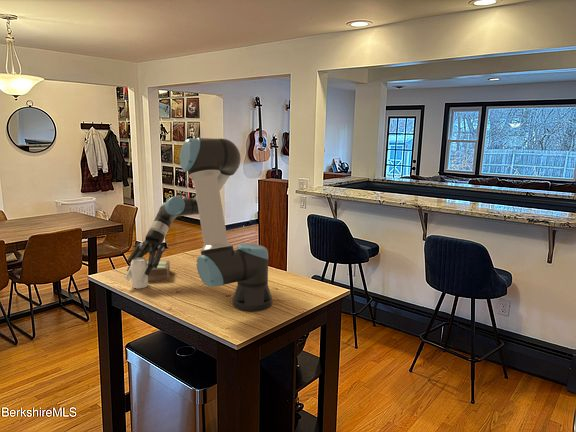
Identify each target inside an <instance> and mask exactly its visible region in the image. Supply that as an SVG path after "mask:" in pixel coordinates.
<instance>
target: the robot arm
mask: <svg viewBox="0 0 576 432" xmlns="http://www.w3.org/2000/svg"><path fill="white" fill-rule="evenodd" d="M180 148H181V149H180V153H179V164H180V165H179V166H180V168H181V170H182V171H185V172H187V174H188V178H190V179H191V180H192V181H193V185H194V189H195V196H194V197H191V198H189V197H187V198H182V197H180V196H171V197H170V198H169V199H167V201H165V202H163V203H162V204H161V206H160V207H159V209H158V212H157V214H156V216H155V217H154V220H153V221H152V222H151V223H152V224H151V225H150V227H149V230H148V231H147V233H146V235H145V239H144V241H143V242H141V243H140V242H139V241H138V242H136V244H135V247H134V248H133V250H132V252H131V254H130V255H129V257H128V259H127V260H126V262H127V263H128V264H129V265H128V267H127V269H126V274H125V276H124V278H125V280H127V281H128V282H129V281H131V279H132V277H131V262H132V259H133V258H138V257H143V258H144V256H145V255H147V254H148V255H149V256H148V260H147V261H148V265H147V266H145V268H144V270H143V272H142V274H141V276H140V278H139V280H140V281H141V282H142V283H144V281H145V279H146V277H147V275H149V274H150V271H151V269H153V268H157V266H158V264H159V261H161V258H162V255H163V254H164V252H165V250H166V248H165V247H164V245H163V242H164V240H165V237H166V236H167V233H168V231H169V230H170V227H171V226H172V223H173V221H174V220H176V218H178V217H183V216H193V215H195V216H196V215H198V216H199V222H200V228H201V233H202V240H203V246H202V248H201V249H200V255H199V256H198V257H197V258H196V270H197V273H198V276H199V278H200V280H201V282H202V283H203V284H204V285H205V286H207V287H209V288H212V287H221V286H224V285H229V284H234V283H236V288H235V291H234V294H233V297H232V306H233V307H234V308H236V310H237V309H238V310H241V311H243V312H244V311H245V312H258V311H264V310H267V309H269V308H270V307H272V305H273V296H272V294H271V290H270V286H269V281H268V280H269V250H268V249H267V247H265V246H264V245H260V244H255V243H239V244H238V245H237V247H236V249H235V250H234V245H233V244H232V243H231V242H229V241H228V234H227V229H226V228H227V227H226V223H225V217H224V215H225V214H224V211H223V210H224V209H223V205H222V198H221V192H220V191H221V189H222V188H223V187H224V186H225V184H226V182H227V181H228V179H229V178H230V176H233V175H234V174H236V172H237V171H238V169H239V167H240V164H241V160H242V159H241V153H240V150H239V147H238V146H237V145H236V144H235V143H234V142H232V141H231V140H229V139H226V138H210V137H209V138H206V137H205V138H204V137H203V138H202V137H195V138H187V139H186V140H185V141H184V142H183V143H182V145H181V147H180Z"/></svg>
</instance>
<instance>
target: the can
mask: <svg viewBox="0 0 576 432" xmlns="http://www.w3.org/2000/svg"><path fill="white" fill-rule="evenodd" d="M147 261H148V260H147V258H146V257H144V256H143V257H138V258H133V259H132V262H131V287H132V288H133V289H135V288H136V290H142V289H146V288H147V287H148V286H149V281H148V275H147V277H146V279H145V281H144V283H142V282H141V281H140V280H139V278H140V276H141V274H142V272H143V270H144V268H145V266H147ZM145 287H146V288H145ZM141 288H142V289H141Z"/></svg>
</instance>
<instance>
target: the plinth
mask: <svg viewBox="0 0 576 432" xmlns="http://www.w3.org/2000/svg"><path fill="white" fill-rule="evenodd" d="M146 261H147V265H148V260H146ZM170 266H171V265H170V260H160V261H159V264H158V266H157V268H153V269H151V271H150V274H149V275H148V282H149V281H150V282H151V281H168V278H169V275H170V272H171V271H170Z"/></svg>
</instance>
